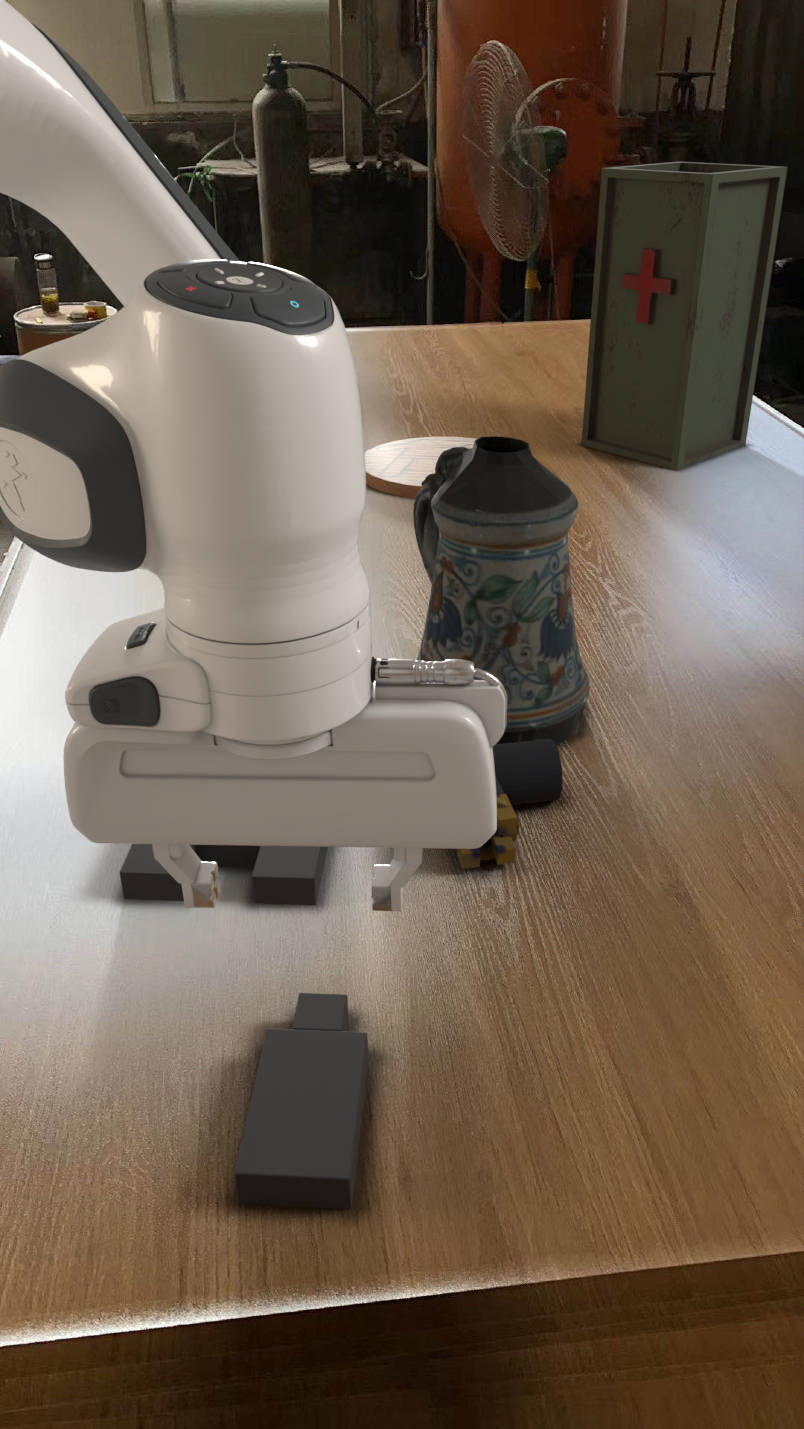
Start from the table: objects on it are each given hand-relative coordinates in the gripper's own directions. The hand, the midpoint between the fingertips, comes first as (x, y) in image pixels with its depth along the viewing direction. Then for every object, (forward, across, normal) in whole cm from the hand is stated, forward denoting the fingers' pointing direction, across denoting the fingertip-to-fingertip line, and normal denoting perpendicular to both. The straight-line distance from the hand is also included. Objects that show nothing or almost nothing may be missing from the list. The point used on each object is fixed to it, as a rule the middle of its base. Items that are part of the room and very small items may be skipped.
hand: (295, 902), depth 55 cm
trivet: (+15, -5, -117) cm, 118 cm away
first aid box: (+16, -40, -132) cm, 139 cm away
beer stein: (+15, -10, -46) cm, 50 cm away
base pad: (+15, +9, -25) cm, 31 cm away
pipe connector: (+15, -9, -27) cm, 33 cm away
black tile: (+15, 0, 0) cm, 15 cm away
